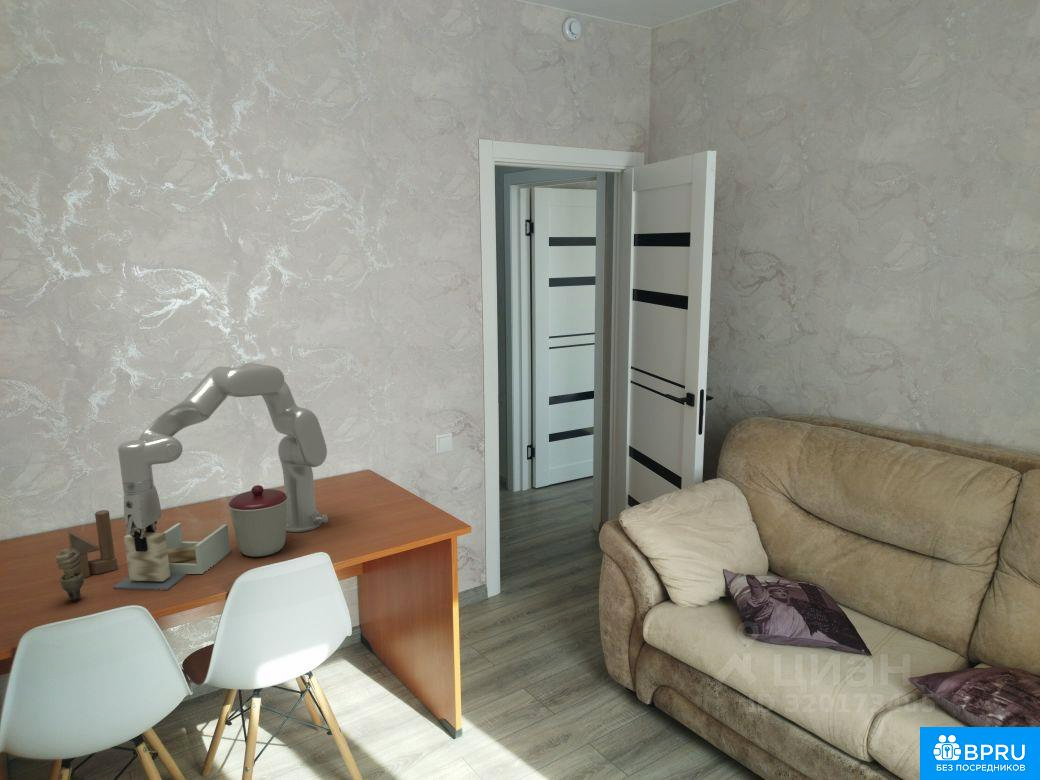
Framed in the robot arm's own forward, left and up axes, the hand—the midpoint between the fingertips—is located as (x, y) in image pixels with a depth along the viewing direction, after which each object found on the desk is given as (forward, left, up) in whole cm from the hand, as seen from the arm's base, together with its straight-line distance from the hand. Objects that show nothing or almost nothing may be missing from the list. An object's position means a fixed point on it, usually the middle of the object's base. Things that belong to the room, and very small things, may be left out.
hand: (146, 547), depth 205 cm
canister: (-22, -24, -11) cm, 34 cm away
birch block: (0, 0, -9) cm, 9 cm away
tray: (-4, -15, -11) cm, 19 cm away
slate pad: (0, 0, -11) cm, 11 cm away
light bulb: (+14, +12, -11) cm, 21 cm away
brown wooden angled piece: (+20, -5, -11) cm, 23 cm away
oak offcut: (-4, -10, -8) cm, 13 cm away
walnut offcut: (-4, -9, -11) cm, 15 cm away
